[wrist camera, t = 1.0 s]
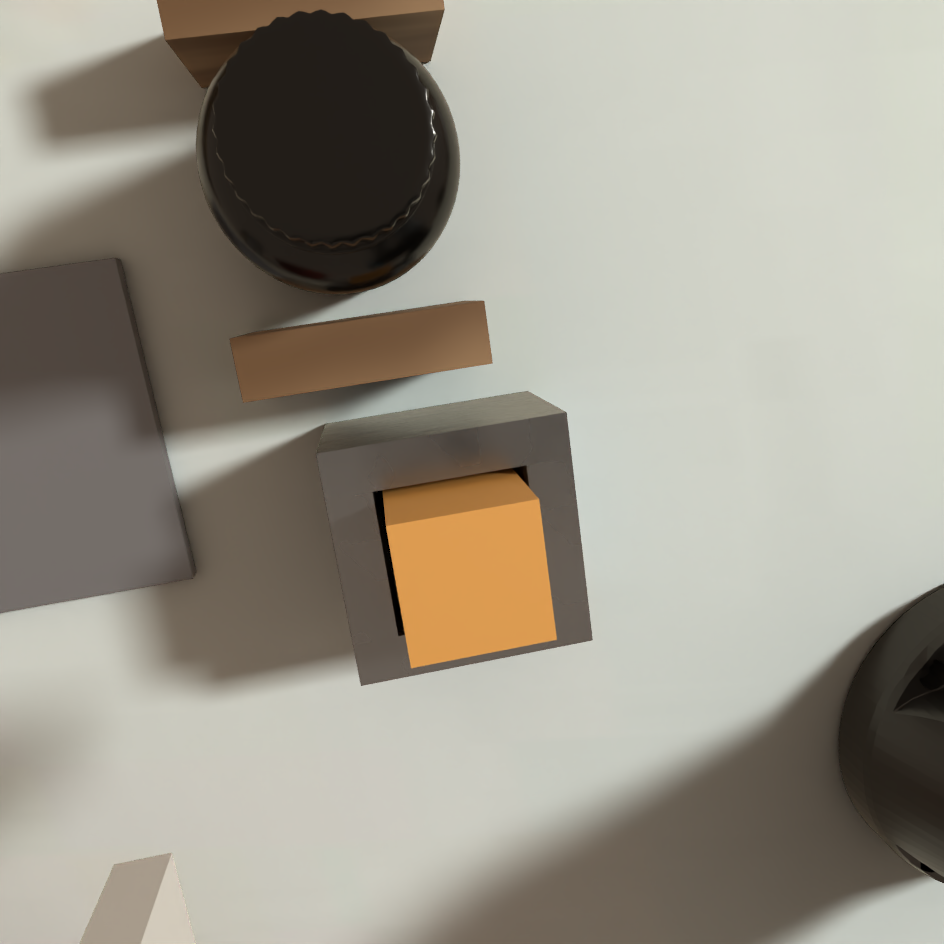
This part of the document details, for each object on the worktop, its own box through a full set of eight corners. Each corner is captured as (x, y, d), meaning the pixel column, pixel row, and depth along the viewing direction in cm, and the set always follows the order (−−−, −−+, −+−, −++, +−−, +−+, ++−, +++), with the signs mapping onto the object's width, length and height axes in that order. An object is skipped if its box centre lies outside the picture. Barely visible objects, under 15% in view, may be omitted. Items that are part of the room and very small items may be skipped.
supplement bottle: (244, 292, 28) (159, 285, 16) (239, 90, 27) (143, -73, 15) (431, 299, 29) (475, 298, 17) (436, 105, 28) (488, -37, 16)
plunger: (517, 571, 29) (557, 639, 23) (401, 592, 28) (411, 668, 22) (502, 457, 28) (539, 499, 22) (381, 478, 27) (385, 526, 21)
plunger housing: (551, 579, 32) (592, 640, 26) (361, 614, 31) (361, 685, 26) (527, 390, 30) (566, 412, 24) (325, 423, 29) (315, 453, 24)
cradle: (471, 353, 30) (492, 363, 25) (263, 385, 29) (243, 402, 24) (421, -2, 27) (433, -68, 22) (188, 24, 26) (148, -40, 21)
